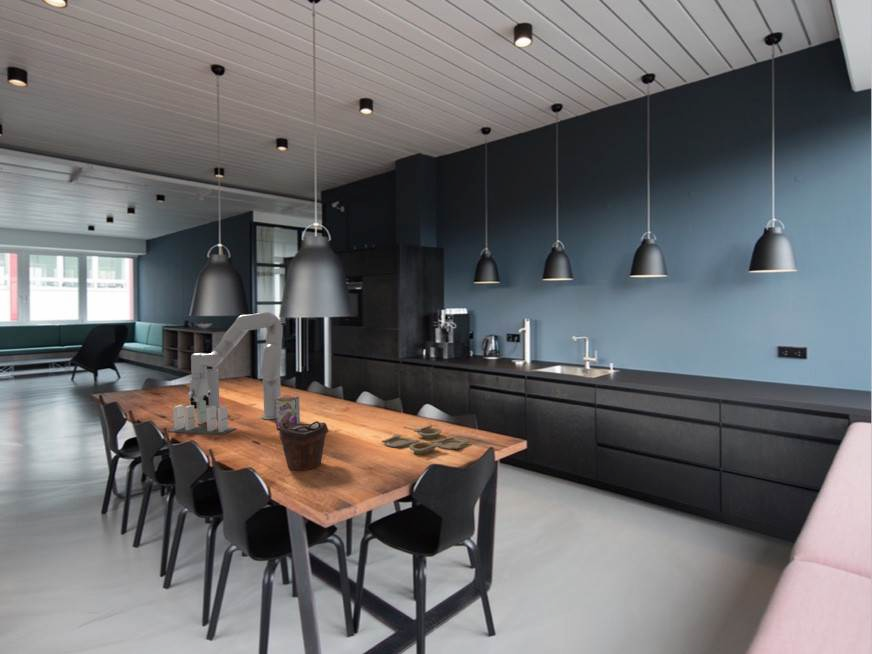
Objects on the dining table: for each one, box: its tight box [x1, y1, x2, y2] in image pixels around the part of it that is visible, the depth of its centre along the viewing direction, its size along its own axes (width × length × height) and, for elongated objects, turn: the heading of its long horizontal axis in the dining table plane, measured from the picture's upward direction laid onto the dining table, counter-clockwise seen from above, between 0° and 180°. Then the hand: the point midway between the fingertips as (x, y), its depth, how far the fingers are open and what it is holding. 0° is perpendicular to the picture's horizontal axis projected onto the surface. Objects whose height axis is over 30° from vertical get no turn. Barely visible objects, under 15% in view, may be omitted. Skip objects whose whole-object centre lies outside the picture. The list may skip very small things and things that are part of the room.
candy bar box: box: [275, 396, 301, 430], centre depth 256 cm, size 11×5×16 cm, turn 84°
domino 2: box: [184, 404, 196, 430], centre depth 257 cm, size 2×5×12 cm, turn 167°
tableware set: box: [381, 424, 470, 455], centre depth 224 cm, size 35×29×4 cm
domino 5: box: [217, 405, 229, 432], centre depth 253 cm, size 2×5×12 cm, turn 167°
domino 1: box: [172, 404, 185, 430], centre depth 259 cm, size 2×5×12 cm, turn 167°
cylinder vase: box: [196, 368, 221, 413], centre depth 300 cm, size 12×12×25 cm
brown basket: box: [278, 421, 330, 472], centre depth 198 cm, size 18×20×18 cm
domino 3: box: [196, 400, 207, 425], centre depth 272 cm, size 2×5×12 cm, turn 167°
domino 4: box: [206, 406, 218, 431], centre depth 254 cm, size 2×5×12 cm, turn 167°
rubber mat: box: [167, 426, 237, 435], centre depth 256 cm, size 33×10×1 cm, turn 77°
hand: (199, 406), depth 271 cm, fingers open, 9 cm apart
